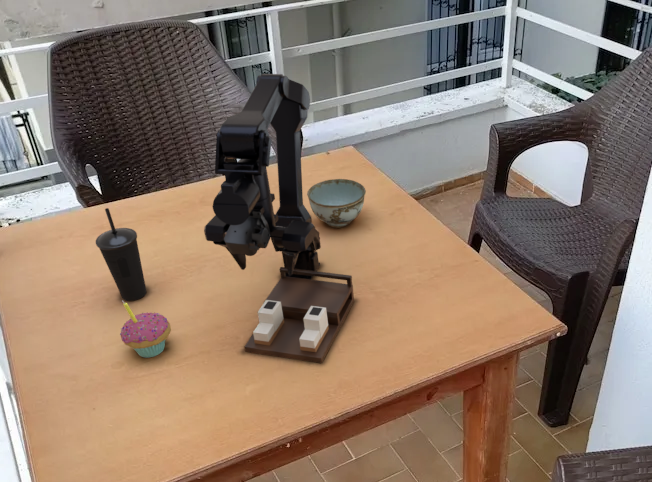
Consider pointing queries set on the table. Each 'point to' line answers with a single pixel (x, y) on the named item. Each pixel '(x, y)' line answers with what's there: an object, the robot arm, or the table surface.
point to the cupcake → (145, 332)
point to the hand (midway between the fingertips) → (267, 271)
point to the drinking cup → (123, 260)
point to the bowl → (337, 201)
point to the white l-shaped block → (268, 322)
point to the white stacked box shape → (314, 328)
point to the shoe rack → (296, 304)
